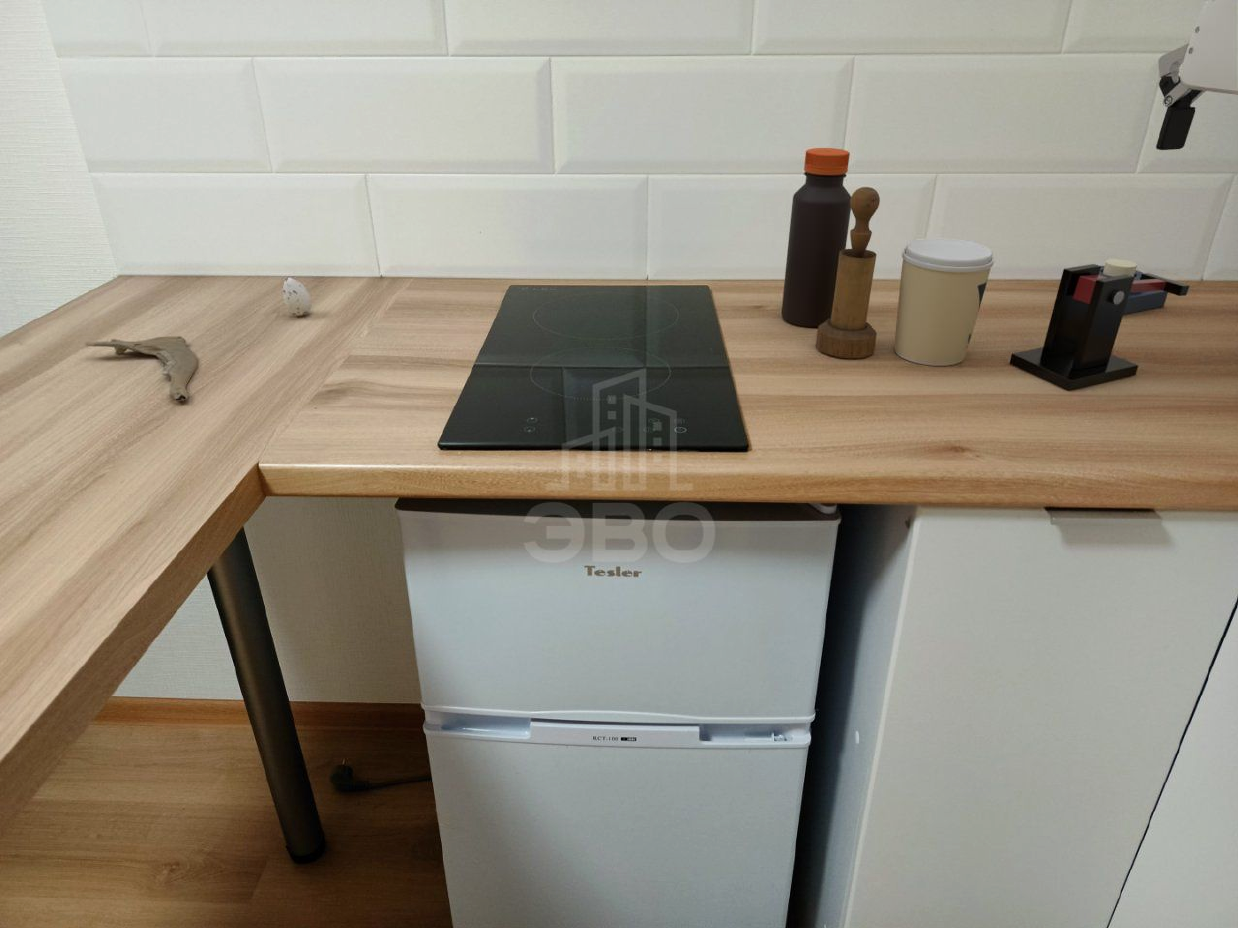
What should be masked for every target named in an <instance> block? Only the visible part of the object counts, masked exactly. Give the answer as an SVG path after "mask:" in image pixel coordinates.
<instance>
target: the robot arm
mask: <svg viewBox="0 0 1238 928" xmlns="http://www.w3.org/2000/svg"><path fill="white" fill-rule="evenodd" d="M1157 65H1158V71H1159V72H1158V73H1159V78H1160V80H1159V82H1158V87H1159V89H1160V91H1161V94H1162V96H1163V99H1162V104H1163V107H1165V108H1166V111H1165V114H1164V117H1163V121H1162V124H1161V126H1160V131H1159V134H1158V139H1157V141H1156V144H1155V145H1156V146H1155V149H1156V150H1159V151H1171V150H1181V149H1183V148H1184V147H1185V144H1186V142H1187V138H1188V136H1189V133H1190V129H1191V127H1192V123H1193V120H1194V117H1195V113H1196V107H1195V106H1191V105H1192V104H1193V103H1194V102H1196V101H1197V100H1198V99H1199V98H1200V97H1201V96H1202V95H1204V93H1206V92H1212V93H1218V94H1219V93H1220V94H1227V95H1235V96H1238V0H1206V1H1205V3H1204V5H1203V8H1202V10H1201V12H1200V14H1199V17H1198V19H1197V21H1196V24H1195V26H1194V30H1193V32H1192V35H1191V37H1190V39H1189V42H1188V43H1186V44H1184V45H1181V46H1180V47H1177V48H1176V49H1174V50H1171V51H1169V52H1167V53H1165V54H1163V55H1162V56H1160V57H1159V58H1158V63H1157ZM1180 66H1181V70H1180ZM1179 73H1180V75H1179Z"/></svg>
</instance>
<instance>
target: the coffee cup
mask: <svg viewBox="0 0 1238 928" xmlns="http://www.w3.org/2000/svg"><path fill="white" fill-rule="evenodd" d="M993 255H994V253H993V251H992V249H991V248H989V247H988V246H985V245H983V244H981V243H977V242H974V241H969V240H964V239H958V238H949V237H926V238H918V239H914V240H911V241H909V242H908V243H906V246H905V248H903V250H902V253H901V257H902V265H901V272H900V274H901V275H900V281H899V292H898V303H897V313H896V324H895V333H894V352H895V354H896V355H897V356H898V357H900V358H902V359H904V360H906V361H909V362H912V363H915V364H918V365H919V364H920V365H924V366H931V367H932V366H934V367H947V366H954V365H957V364H959V363H961V362H963V361H964V359H965V358H966V354H967V351H968V349H969V345H970V342H971V340H972V339H971V338H972V335H973V333H974V329H975V325H976V322H977V319H978V315H979V312H980V309H981V304H982V301H983V297H984V294H985V291H986V288H987V283H988V279H989V276H990V272H991V268H993V266H994V263H995V257H994V256H993Z"/></svg>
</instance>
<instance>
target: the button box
mask: <svg viewBox="0 0 1238 928" xmlns="http://www.w3.org/2000/svg"><path fill="white" fill-rule="evenodd" d="M1100 266H1101V269H1100V272H1099V275H1100V276H1103V277H1106V278H1109V277H1112V276H1108V275H1105V274H1103V270H1104V266H1105V265H1100ZM1143 273H1144V272H1143V271H1139V270H1138V269H1136V271H1135V274H1134V280H1140V277H1141V275H1142V274H1143ZM1168 295H1169V293H1168V292H1165V291H1162V290H1161V291H1149V292H1136V293H1130V294H1129V297H1128V301H1127V304H1126V307H1125V310H1124V314H1123V316H1124V315H1129V314H1134V313H1138V312H1143V311H1148V310H1154V309H1159V308H1163V307H1164V306H1165V303H1166V300H1167V296H1168Z"/></svg>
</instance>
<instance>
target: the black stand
mask: <svg viewBox="0 0 1238 928" xmlns="http://www.w3.org/2000/svg"><path fill="white" fill-rule="evenodd" d="M1101 266H1102V265H1099V264H1095V263H1092V264H1084V265H1078V266H1071V267H1065V268H1063V269H1062V273H1061V278H1060V282H1059V284H1058V289H1057V293H1056V296H1055V299H1054V303H1053V309H1052V312H1051V316H1050V320H1049V323H1048V327H1047V331H1046V334H1045V339H1044V343H1043V346H1042V347H1037V348H1033V349H1028V350H1022V351H1017V352H1012V353H1011V355H1010V359H1009V365H1012V366H1014V367H1015V368H1019V369H1020V370H1023V371H1025V372H1027V373H1029V374H1031V375H1033V376H1035V377H1038V378H1039V379H1041V380H1044V381H1047V382H1048V383H1050V384H1052V385H1055V386H1057V387H1059V388H1061V389H1064V390H1065V391H1068V392H1069V391H1074V390H1079V389H1083V388H1086V387H1091V386H1095V385H1100V384H1103V383H1109V382H1112V381H1116V380H1121V379H1126V378H1131V377H1135V376H1136V375H1137V372H1138V369H1139V364H1137V363H1136V362H1132V361H1130V360H1127V359H1124V358H1122V357H1120V356H1117V355H1115V354H1112V353H1113V349H1114V347H1115V343H1116V340H1117V337H1118V334H1119V330H1120V327H1121V323H1122V320H1123V317H1124V315H1125V314H1124V310H1125V307H1126V304H1127V301H1128V297H1129V294H1130V291H1131V287H1132V284H1133V281H1134V276H1130V275H1127V274H1126V275H1120V276H1114V277H1109V278H1103V279H1097V280H1096V283H1095V286H1094V290H1093V293H1092V297H1091V300H1090V304H1087V303H1084V302H1082V301H1079V300H1076V299H1073V295H1074V292H1075V289H1076V286H1077V283H1078V280H1079V277H1080V276H1089V275H1099V272H1100V269H1101ZM1123 314H1124V315H1123Z"/></svg>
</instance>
